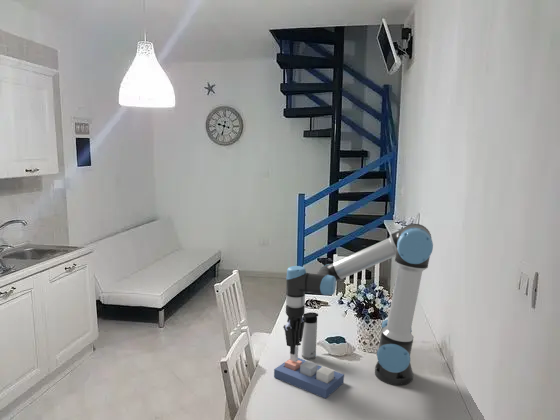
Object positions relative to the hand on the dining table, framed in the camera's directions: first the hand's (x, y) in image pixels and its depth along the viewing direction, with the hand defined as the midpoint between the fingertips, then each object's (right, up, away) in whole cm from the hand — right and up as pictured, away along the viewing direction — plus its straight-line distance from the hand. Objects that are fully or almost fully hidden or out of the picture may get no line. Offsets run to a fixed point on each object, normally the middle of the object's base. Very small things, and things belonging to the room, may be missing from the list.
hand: (294, 360), depth 175 cm
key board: (+6, -7, -4) cm, 9 cm away
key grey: (+6, -4, -4) cm, 8 cm away
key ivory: (+12, -4, -8) cm, 15 cm away
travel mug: (+7, -4, +16) cm, 18 cm away
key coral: (0, -4, +1) cm, 4 cm away
